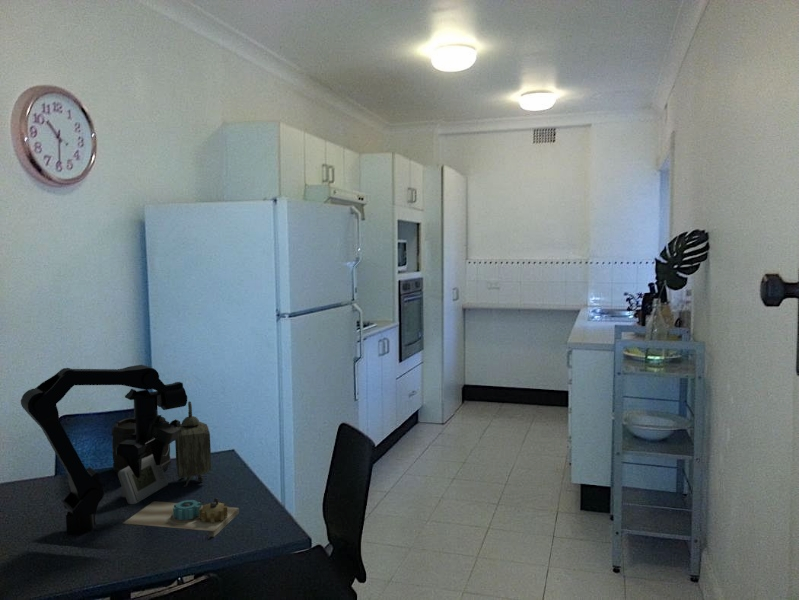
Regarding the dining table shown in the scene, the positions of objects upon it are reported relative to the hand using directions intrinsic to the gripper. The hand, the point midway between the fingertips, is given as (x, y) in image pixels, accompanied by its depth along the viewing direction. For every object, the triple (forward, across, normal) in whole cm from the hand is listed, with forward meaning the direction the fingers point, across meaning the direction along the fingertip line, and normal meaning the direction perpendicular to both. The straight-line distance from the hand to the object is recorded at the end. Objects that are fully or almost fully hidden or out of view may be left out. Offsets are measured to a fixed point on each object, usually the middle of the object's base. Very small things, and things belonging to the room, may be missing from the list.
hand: (148, 471), depth 169 cm
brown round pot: (+12, +31, +22) cm, 40 cm away
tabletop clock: (+12, +23, 0) cm, 26 cm away
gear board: (+12, -2, -10) cm, 16 cm away
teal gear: (+10, -2, -12) cm, 16 cm away
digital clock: (+12, +10, +8) cm, 18 cm away
